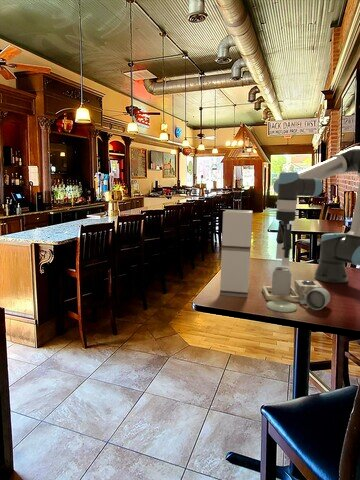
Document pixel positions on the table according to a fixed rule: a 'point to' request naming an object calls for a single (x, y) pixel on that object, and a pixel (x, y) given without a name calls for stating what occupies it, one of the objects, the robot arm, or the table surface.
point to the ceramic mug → (316, 298)
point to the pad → (281, 306)
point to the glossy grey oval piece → (308, 282)
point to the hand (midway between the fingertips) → (282, 262)
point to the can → (281, 281)
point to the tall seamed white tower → (236, 253)
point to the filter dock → (297, 292)
